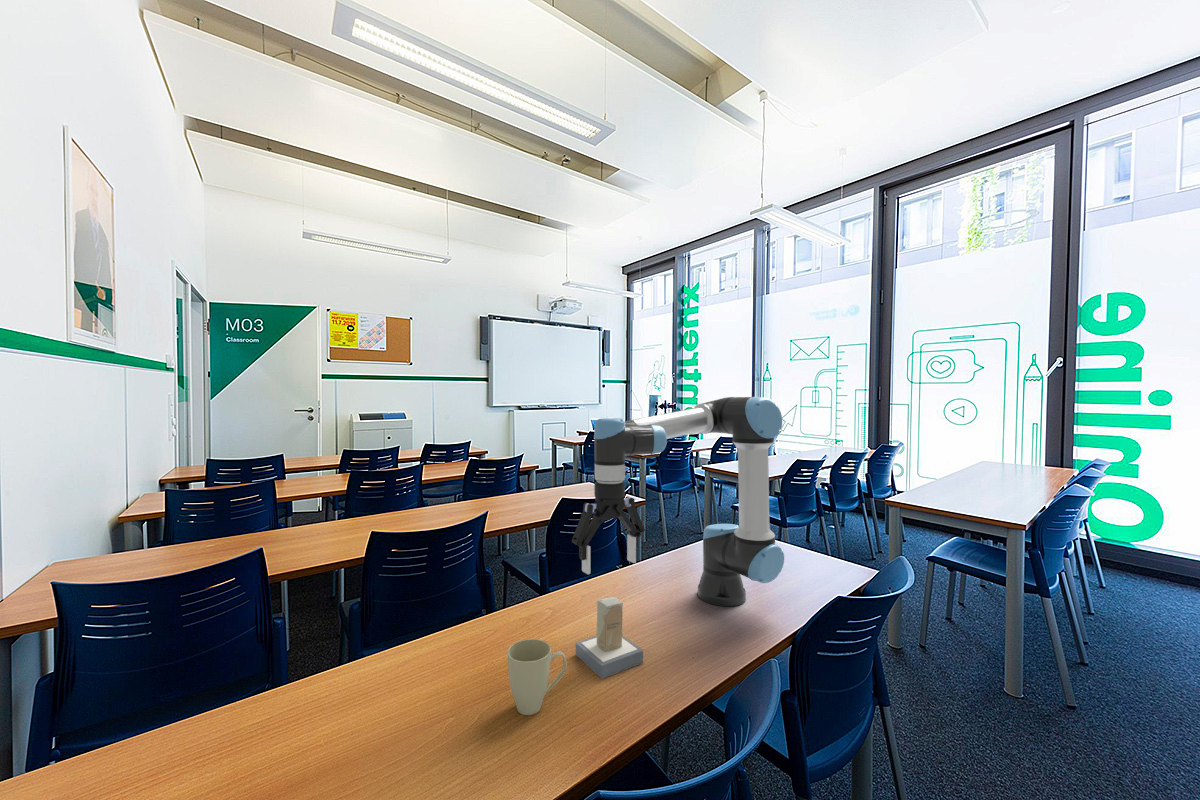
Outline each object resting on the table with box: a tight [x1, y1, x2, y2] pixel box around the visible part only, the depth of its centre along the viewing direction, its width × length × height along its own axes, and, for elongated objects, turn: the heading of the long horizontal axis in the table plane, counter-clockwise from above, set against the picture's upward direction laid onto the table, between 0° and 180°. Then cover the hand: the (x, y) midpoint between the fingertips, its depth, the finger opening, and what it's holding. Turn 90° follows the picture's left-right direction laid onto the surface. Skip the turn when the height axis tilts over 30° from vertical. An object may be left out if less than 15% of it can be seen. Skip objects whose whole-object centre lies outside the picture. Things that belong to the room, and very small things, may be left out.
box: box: [596, 596, 624, 652], centre depth 115 cm, size 5×4×11 cm
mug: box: [506, 638, 568, 716], centre depth 98 cm, size 11×10×12 cm
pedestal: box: [575, 634, 644, 680], centre depth 115 cm, size 12×12×3 cm
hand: (609, 566), depth 115 cm, fingers open, 13 cm apart
